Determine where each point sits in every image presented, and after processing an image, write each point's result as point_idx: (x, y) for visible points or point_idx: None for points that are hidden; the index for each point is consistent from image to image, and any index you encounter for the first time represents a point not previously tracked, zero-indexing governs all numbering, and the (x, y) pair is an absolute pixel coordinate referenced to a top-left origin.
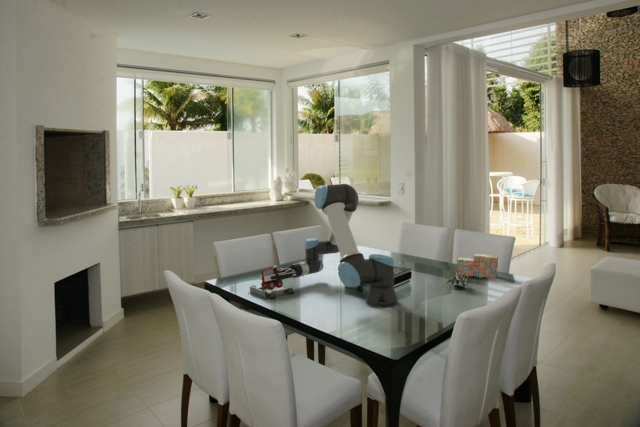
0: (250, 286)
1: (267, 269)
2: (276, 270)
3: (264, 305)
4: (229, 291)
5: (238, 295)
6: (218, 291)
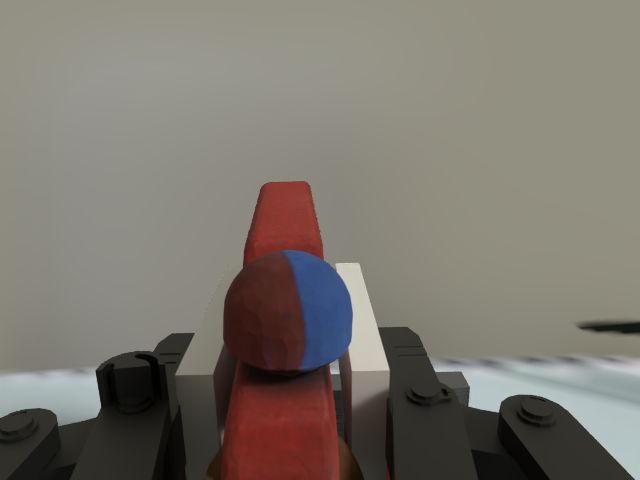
0: (452, 373)
1: (290, 203)
2: (255, 372)
3: (42, 382)
4: (600, 364)
5: (438, 366)
6: (626, 329)
